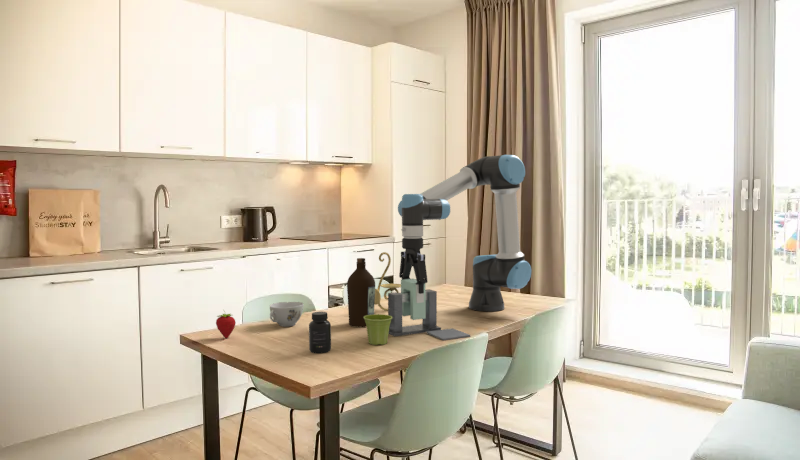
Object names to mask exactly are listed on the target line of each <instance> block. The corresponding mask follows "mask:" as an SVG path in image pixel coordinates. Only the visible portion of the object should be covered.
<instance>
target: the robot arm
mask: <svg viewBox="0 0 800 460" xmlns="http://www.w3.org/2000/svg"><path fill="white" fill-rule="evenodd" d="M525 176H526V167H525V165H524V163H523V161H522V159H520V158H519V157H518V156H517V155H515V154H503V155H491V156H488V155H487V156H484V157H481V158H479V159H476V160H474V161H473V162H470V163H468V164H467V165H464V166H462V168H461V169H460V170H459V172H457V173H456V174H454V175H452V176H450V177H447V178H446V179H445V180H443V181H441V182H439V183H437V184H435V185H433V186H432V187H430V188H428V189H426V190H424V191H423V192H421V193H405V194H403V195H402V197H401V200H400V201H399V203H398V205H397V212H398V215H400V217H401V229H400V230H401V236H402V239H401V247H402V249H403V250H404V251H400V262H399V263H400V264H399V265H400V266H399V275H398V277H399V278H400V279H401V280H403V279H411V278H410V276H411V272H412V268H413V272H414V274H415V279H416V280H417V283H415V284H416V303H422V302H424V284H425V285H426V284H427V283H428V275H427V273H428V272H427V265H426V254H423V253H421V249H423V248H424V238H423V237H424V221H429V220H430V221H436V220H438V221H440V220H445V219H446V220H447V218H448V217H449V216H450V214H451V204H450V202H449V201H448V200H450V199H452V198H454V197H456V196H458V195H459V194H461V193H463V192H465V191H467V190H469V189H470V190H472V189H473V190H474V189H475V188H476V187H480V186H490V187H489V188H490V191H491V192H492V193H493V194H494V202H495V214H496V215H495V216H496V230H497V245H498V247H497V248H498V253H497V254H485V255H476V256H474V257H473V261H472V292H471V296H470V299H469V302H468V308H469V309H470V310H473V311H479V312H499V311H503V310H504V309H505V302H504V298H503V295H502V292H501V287H502V288H507V289H511V290H513V289H516V290H520V289H523V288H524V287H526V286H527V285H528V282H529V281H530V280H531V277H532V267H531V264H530V263H529V261H527V260H526V259H525V253H523V252H522V250H521V245H520V243H521V241H520V232H519V231H520V228H519V227H520V226H519V214H518V213H519V212H518V211H519V210H518V197H517V192H518V191H519V190H520V188H521V183H523V181H524V178H525Z"/></svg>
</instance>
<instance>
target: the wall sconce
mask: <svg viewBox="0 0 800 460" xmlns="http://www.w3.org/2000/svg"><path fill="white" fill-rule="evenodd" d="M383 255H386V256H387V259H388V262H387V266H386V267H385V269H384V271H383V273H382V275H381V276H380V279H379V281H378V285H377V288H375V304H374V306H376V305H378V307H379V308H380V309H381V310H382V311H384V312H385V311H386V312H388V308H385V307H383V306H382V304H381V300H382V299H381V298H382V296H381V292H380V290H381V288H384V289H386V290H385V291H384V293H383V297H384V299H385V300H386V301H388V296H387V295H388V293H389V292H390V293H393V291H395V292H396V293H400V292H399V288H400V289H401V283H384V284H382V282H383V280H384V277H385V275H386V274H387V271H388V270H389V267H390V266H391V262H392V259H391V255H390V254H389V253H388V252H386V251H384V252H381V253H380V254H379V257H378V260H379V261H380V262H381V263H383V262H384V261H385V258H382V256H383Z"/></svg>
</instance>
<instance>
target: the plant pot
mask: <svg viewBox="0 0 800 460" xmlns="http://www.w3.org/2000/svg"><path fill="white" fill-rule="evenodd" d="M364 319H365V323H366V327H365V328H366V331H367V332H366V333H367V339H368V343H369V344H370V345H372V346H378V345H386V344H387V343H388V339H389V334H388V333H389V326H390V323H391V319H392V316H389V315H388V314H381V313H380V314H377V313H376V314H375V313H374V314H373V315H366V316H364Z"/></svg>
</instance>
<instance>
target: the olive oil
mask: <svg viewBox="0 0 800 460" xmlns="http://www.w3.org/2000/svg"><path fill="white" fill-rule="evenodd" d="M366 266H367V264H366V258H364V257H358V258H356V268H355V270H354V271H353V272H352V273H351V274H350V276H349V277H348V279H347V282H346V291H347V307H348V309H347V311H348V325H349V326H350V327H353V328H354V327H356V328H367V327H366V323H365V319H364V316H366V315H373V314H375V289H376V281H375V278H374V276H373V275H372V273H370V272H369V270H368V269H367V268H366Z"/></svg>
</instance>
